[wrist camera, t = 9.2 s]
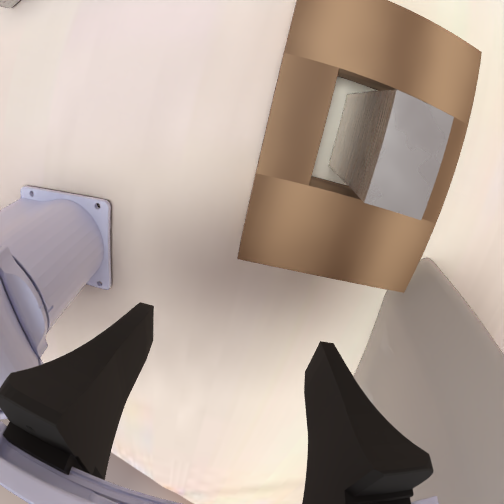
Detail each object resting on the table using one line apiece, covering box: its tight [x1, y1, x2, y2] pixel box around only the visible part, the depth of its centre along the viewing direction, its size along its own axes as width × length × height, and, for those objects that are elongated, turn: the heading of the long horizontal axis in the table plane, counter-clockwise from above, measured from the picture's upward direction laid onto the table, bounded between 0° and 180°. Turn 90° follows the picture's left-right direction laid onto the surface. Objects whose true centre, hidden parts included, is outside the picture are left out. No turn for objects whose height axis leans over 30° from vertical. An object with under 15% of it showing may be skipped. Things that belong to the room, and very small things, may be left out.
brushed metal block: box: [329, 90, 454, 220], centre depth 14 cm, size 3×5×8 cm, turn 168°
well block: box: [237, 0, 482, 293], centre depth 17 cm, size 12×18×3 cm, turn 168°
